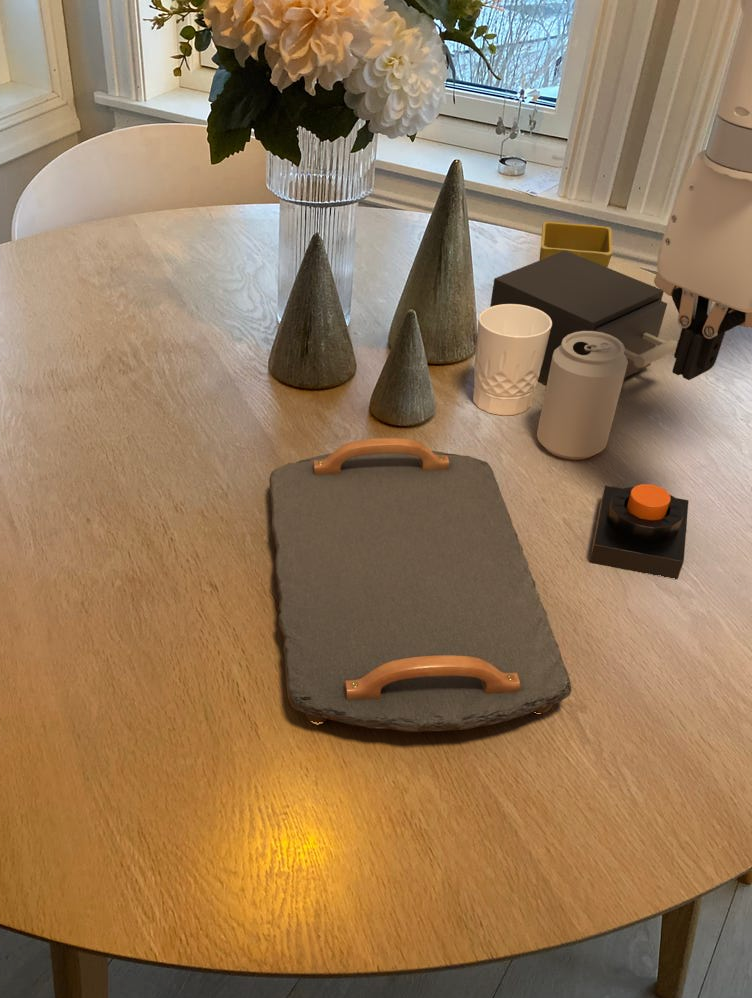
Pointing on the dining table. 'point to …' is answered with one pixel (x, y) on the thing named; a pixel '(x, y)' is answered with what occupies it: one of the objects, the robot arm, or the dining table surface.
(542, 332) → the white cup
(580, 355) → the can
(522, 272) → the cabinet
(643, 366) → the drawer
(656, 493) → the button
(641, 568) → the panel
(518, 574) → the serving tray
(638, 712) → the dining table surface
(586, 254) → the flower pot
